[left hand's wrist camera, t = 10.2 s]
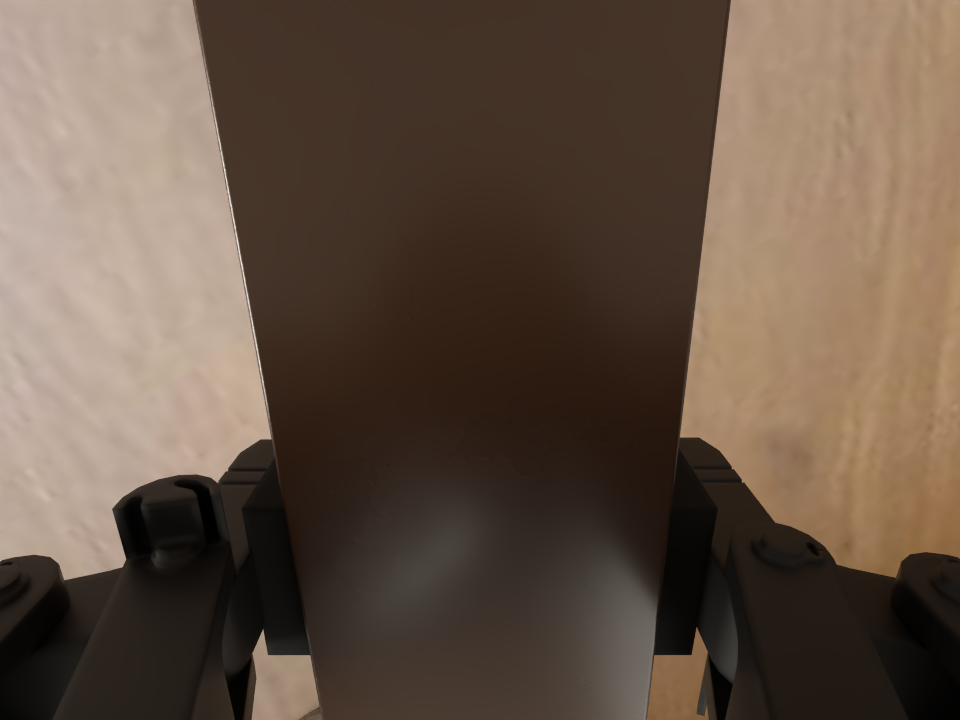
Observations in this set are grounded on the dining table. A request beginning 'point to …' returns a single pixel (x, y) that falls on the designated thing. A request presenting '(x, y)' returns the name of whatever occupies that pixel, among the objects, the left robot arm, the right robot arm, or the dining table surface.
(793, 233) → the dining table surface
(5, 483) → the dining table surface
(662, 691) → the dining table surface
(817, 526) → the dining table surface
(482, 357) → the beam
